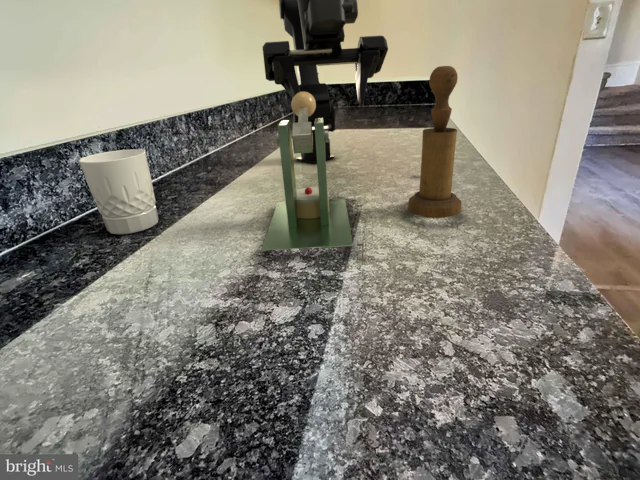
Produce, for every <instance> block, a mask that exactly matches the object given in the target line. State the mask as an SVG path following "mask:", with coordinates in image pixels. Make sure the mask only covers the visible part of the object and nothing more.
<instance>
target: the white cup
mask: <svg viewBox="0 0 640 480" xmlns="http://www.w3.org/2000/svg"><path fill="white" fill-rule="evenodd" d="M78 164H79V166H80V169H81V170H82V173H83V176H84V178H85V180H86V183H87V186H88V188H89V191H90V194H91V196H92V199H93V200H94V202H95V204H96V205H95V206H96V208H97V210H98V212H99V214H100V215H101V218H102V220H103V224H104V226H105V229H106V231H107V232H108V233H110V234H112V235H128V234H135V233H138V232H142V231H145V230H148V229H150V228H152V227H154V226H155V225H157V224H158V223H159V220H160V219H159V213H158V209H157V205H156V203H157V201H156V197H155V192H154V191H155V190H154V185H153V179H152V176H151V172H150V167H149V162H148V158H147V152H146V150H144V149H139V148H138V149H137V148H135V149H134V148H132V149H119V150H111V151H105V152H97V153H95V154H91V155H90V154H89V155H87V156H83V157H81V158H79V159H78Z"/></svg>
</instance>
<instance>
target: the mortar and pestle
mask: <svg viewBox="0 0 640 480" xmlns="http://www.w3.org/2000/svg"><path fill="white" fill-rule="evenodd" d="M458 79H459V78H458V72H457V70H456V68H454V67H453V66H451V65H439V66H437V67H436V68H434V69H433V70H432V72H431V73H430V76H429V81H428V83H429V84H428V85H429V87H430V89H431V92H432V94H433V96H434V98H435V99H434V100H435V103H434V107H432V108H431V109H430V113H431V118H432V123H433V127H430V128H424V129H422V138H421V139H422V143H421V158H420V159H421V161H420V162H421V163H420V176H419V178H420V179H419V191H417V192H415V193H414V194H413V195H412V196H410V197H409V198H408V203H407V209H408V211H409V212H410V213H412V214H414V215H417V216H419V217H424V218H437V219H438V218H439V219H440V218H449V217H454V216H457V215H459V214H460V213H461V211H462V200H461V199H460V198H459V197H458V196H457V194H455V193H454V192H452V190H453V176H454V165H455V155H456V145H457V136H458V129H457V128H453V127H448V124H449V121H450V118H451V115H452V110H453V108H452V107H451V106H450V103H449V100H450V96H451V94H452V92H453V91H454V89H455V87H456V86H457V83H458Z"/></svg>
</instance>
